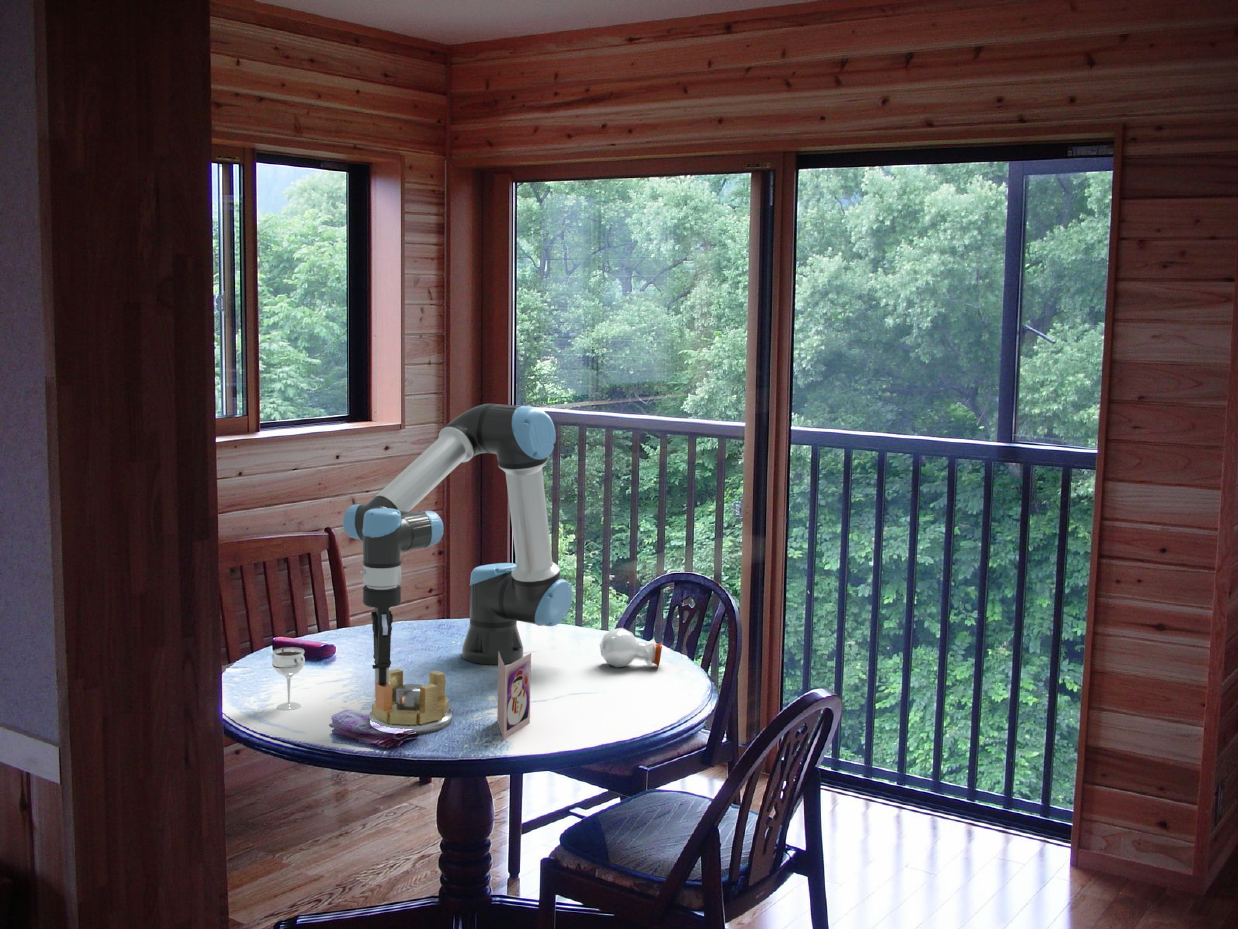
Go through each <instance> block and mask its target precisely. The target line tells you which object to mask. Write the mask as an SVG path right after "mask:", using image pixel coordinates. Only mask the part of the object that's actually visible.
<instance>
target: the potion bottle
mask: <svg viewBox="0 0 1238 929" xmlns="http://www.w3.org/2000/svg"><path fill="white" fill-rule="evenodd" d="M599 647H600V648H599V649H600V655H601V657H602V658H603V659H604V661H605V662H606V663H607V664H608V665H611V666H612V667H614V668H623V667H627V666H629V665H630V664H631V663H632V662H634V660H637V661H643V662H644V663H646V665H647V666H648V667H649V668H650V667H651V666H652V665H653V664H654V665H655V666H657V668H659V666H660V662H661V656H662V650H663V642H662V641H661V642H659V643H657V642H656V640H655V638H652V639H651V640H649V641H647V642H643V641H638V639H636V637H635V635H634V633H633V632H632V631H629V630H627V629H626V628H624V627H619V628H613V629H611V630H610V631H608V632H606V633H605V634H604V635H603V636H602V638H601V641H600V644H599Z"/></svg>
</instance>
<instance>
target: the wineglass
mask: <svg viewBox="0 0 1238 929" xmlns="http://www.w3.org/2000/svg"><path fill="white" fill-rule="evenodd" d="M305 650H306V649H305ZM305 650H304V648H301V647H280V648H276V649H274V650H273V651H272V655H273V657H272V662H271V664H272V665H271V666H272V668H273V669H274V671H276V672H277V673H278V674H279V675H281V676H284V677H285V679H286V685H287V686H286V688H287V689H286V690H287V691H286V692H287V702H283V703H280V704H278V705H277V706H276V708H277V709H279V710H280V711H281V710H282V711H291V710H296V709H299V708H300V707H302V706H301V704H300V703H298V702H292V701H291V680H292V679H291V678H293V676H294V675H297V674H298V673H300V671H301V670H302V669H304V666H305V662H306V659H305V656H304V655H305Z"/></svg>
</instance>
